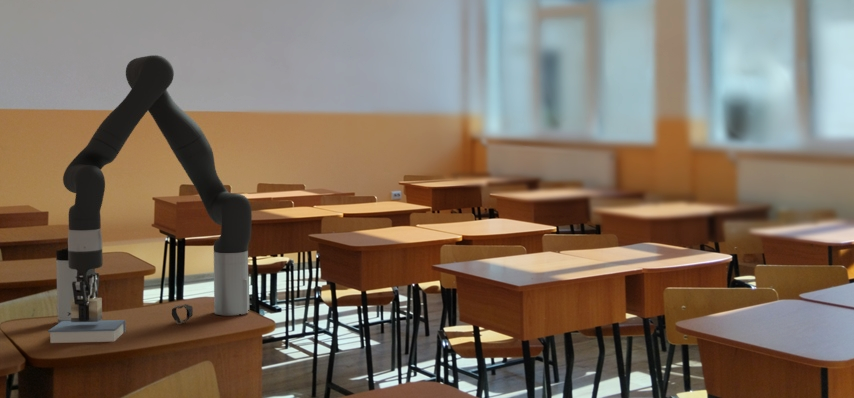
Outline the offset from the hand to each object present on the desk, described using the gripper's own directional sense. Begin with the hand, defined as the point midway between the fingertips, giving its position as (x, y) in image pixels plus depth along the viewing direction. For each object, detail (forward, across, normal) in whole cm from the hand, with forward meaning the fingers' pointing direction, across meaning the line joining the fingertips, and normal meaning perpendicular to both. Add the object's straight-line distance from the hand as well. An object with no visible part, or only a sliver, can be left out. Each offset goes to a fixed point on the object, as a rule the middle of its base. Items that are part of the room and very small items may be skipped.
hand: (86, 318), depth 192 cm
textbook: (+5, +1, 0) cm, 5 cm away
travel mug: (+5, +18, +9) cm, 21 cm away
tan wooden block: (0, 0, 0) cm, 0 cm away
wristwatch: (+5, +14, -20) cm, 25 cm away
